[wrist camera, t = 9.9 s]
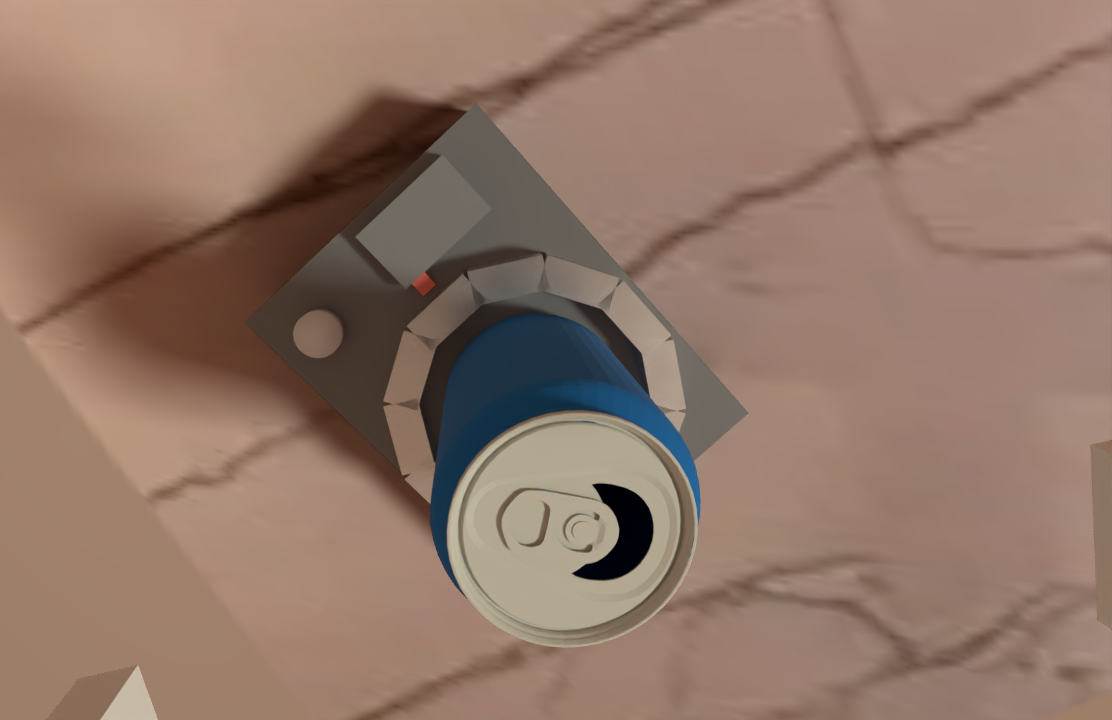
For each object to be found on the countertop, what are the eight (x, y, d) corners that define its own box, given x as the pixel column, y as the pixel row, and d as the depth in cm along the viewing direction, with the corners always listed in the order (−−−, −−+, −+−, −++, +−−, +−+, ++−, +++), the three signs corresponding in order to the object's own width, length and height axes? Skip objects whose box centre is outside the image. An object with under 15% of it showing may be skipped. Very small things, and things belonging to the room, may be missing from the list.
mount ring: (330, 393, 29) (324, 402, 28) (544, 194, 28) (547, 194, 27) (526, 582, 31) (528, 598, 30) (729, 403, 30) (739, 412, 29)
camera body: (272, 305, 32) (237, 326, 27) (475, 113, 31) (476, 100, 26) (528, 554, 35) (535, 611, 30) (717, 386, 34) (755, 419, 30)
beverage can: (600, 493, 31) (678, 682, 19) (430, 465, 30) (402, 645, 18) (638, 328, 29) (748, 420, 18) (463, 294, 28) (456, 367, 17)
